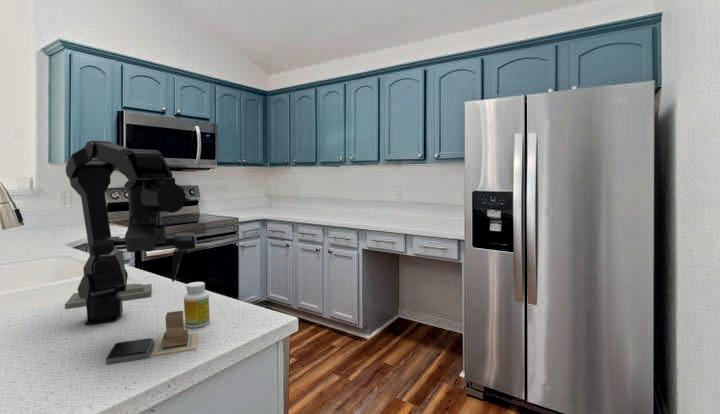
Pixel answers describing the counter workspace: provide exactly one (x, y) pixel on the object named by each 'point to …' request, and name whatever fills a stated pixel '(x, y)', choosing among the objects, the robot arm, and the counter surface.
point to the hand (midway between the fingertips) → (149, 283)
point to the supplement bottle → (196, 305)
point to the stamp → (174, 331)
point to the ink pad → (130, 351)
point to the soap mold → (130, 294)
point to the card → (190, 346)
